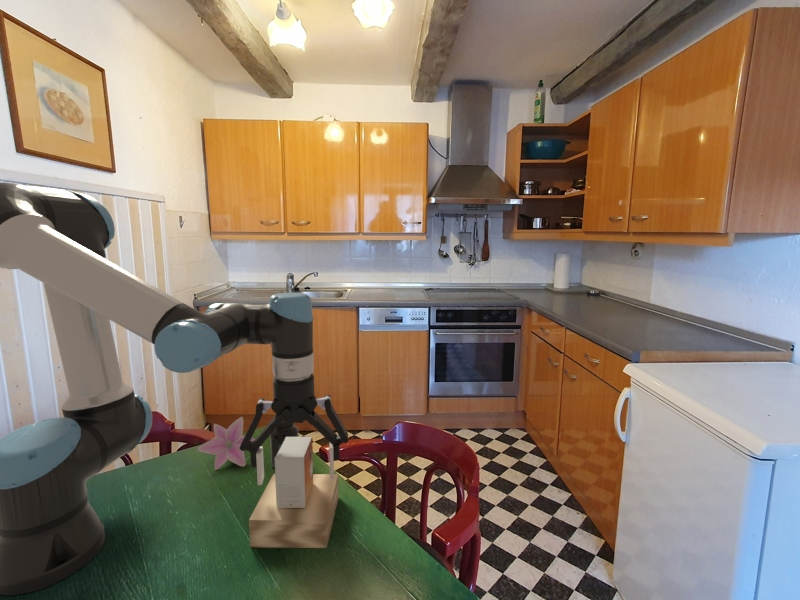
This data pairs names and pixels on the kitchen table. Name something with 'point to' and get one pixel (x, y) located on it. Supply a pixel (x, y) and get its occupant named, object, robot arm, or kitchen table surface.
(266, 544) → the riser
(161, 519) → the kitchen table surface
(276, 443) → the supplement bottle
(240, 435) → the lily
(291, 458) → the small box
